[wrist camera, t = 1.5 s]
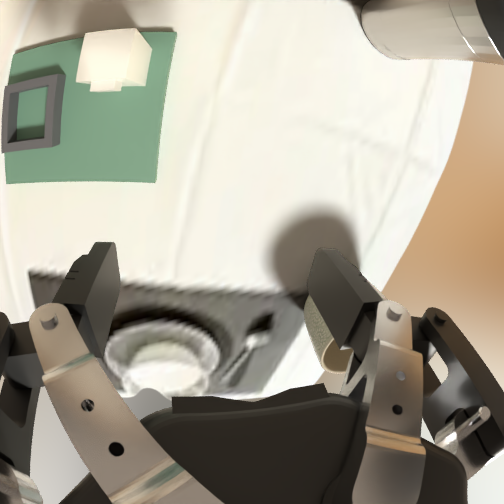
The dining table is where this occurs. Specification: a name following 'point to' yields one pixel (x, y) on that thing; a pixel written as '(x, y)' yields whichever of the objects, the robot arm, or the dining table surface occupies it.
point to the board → (82, 118)
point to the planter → (326, 339)
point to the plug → (114, 60)
